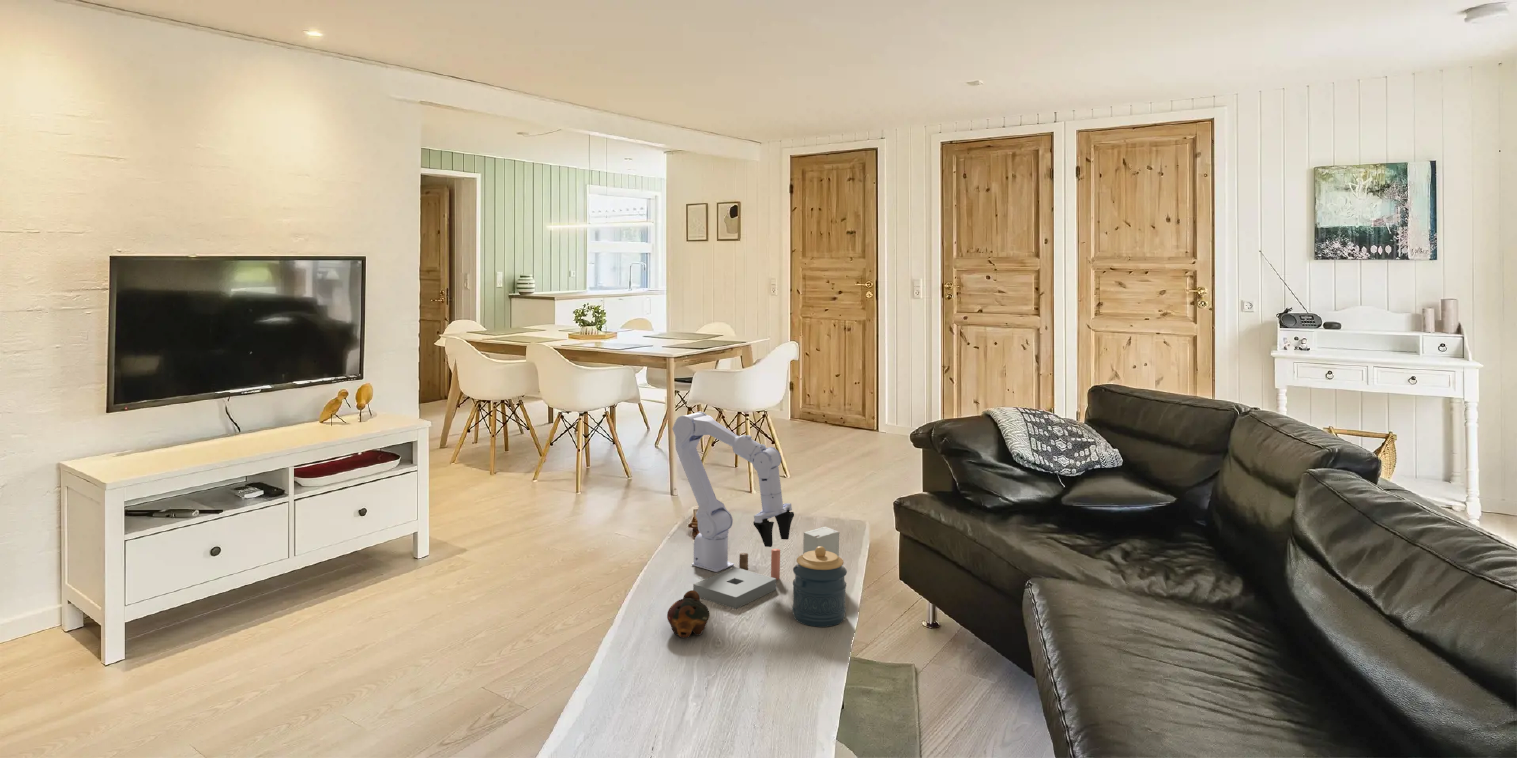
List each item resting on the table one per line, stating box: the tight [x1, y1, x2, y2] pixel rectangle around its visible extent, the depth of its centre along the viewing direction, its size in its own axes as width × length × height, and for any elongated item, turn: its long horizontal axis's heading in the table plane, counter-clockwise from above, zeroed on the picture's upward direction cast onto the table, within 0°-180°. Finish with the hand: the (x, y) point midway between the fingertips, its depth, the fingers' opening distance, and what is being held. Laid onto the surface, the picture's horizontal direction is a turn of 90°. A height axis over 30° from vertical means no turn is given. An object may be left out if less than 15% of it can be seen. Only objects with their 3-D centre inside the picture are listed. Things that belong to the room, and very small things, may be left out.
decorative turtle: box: [666, 590, 710, 639], centre depth 195 cm, size 10×15×8 cm, turn 2°
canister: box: [791, 546, 848, 628], centre depth 204 cm, size 13×13×18 cm
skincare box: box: [802, 526, 840, 557], centre depth 226 cm, size 8×6×15 cm
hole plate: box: [692, 566, 777, 610], centre depth 220 cm, size 14×17×3 cm
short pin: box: [738, 552, 749, 571], centre depth 237 cm, size 2×2×4 cm
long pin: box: [770, 548, 781, 581], centre depth 230 cm, size 2×2×8 cm
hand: (776, 542), depth 229 cm, fingers open, 7 cm apart
